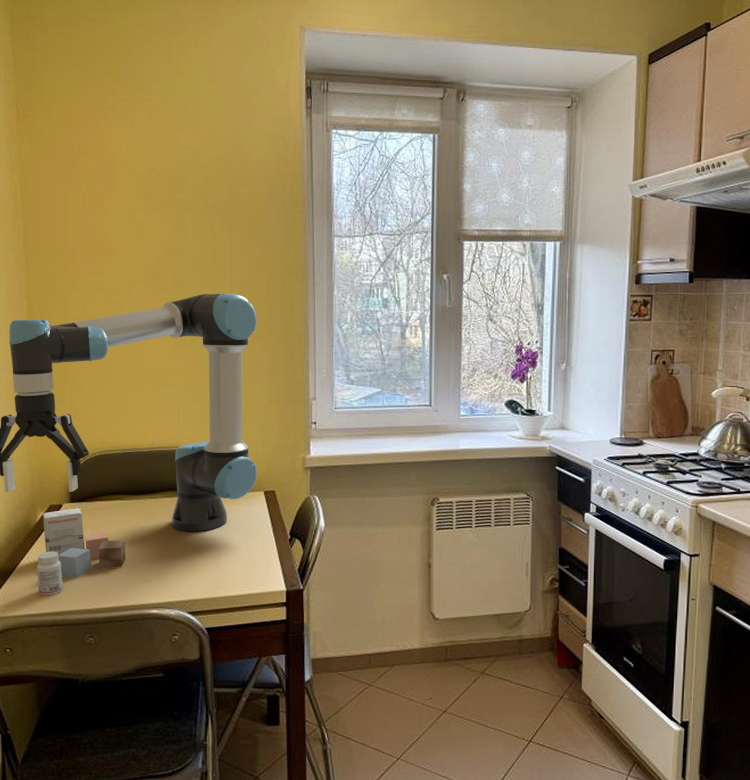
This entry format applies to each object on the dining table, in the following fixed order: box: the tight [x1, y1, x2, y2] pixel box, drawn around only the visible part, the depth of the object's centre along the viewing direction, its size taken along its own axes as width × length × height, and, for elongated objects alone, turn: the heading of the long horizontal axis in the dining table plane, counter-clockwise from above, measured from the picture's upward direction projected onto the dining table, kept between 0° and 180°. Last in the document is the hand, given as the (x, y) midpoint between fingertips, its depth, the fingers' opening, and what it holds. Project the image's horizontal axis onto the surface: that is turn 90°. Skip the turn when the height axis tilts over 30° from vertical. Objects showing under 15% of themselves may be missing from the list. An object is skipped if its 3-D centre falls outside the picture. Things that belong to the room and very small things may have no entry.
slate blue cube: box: [58, 548, 92, 579], centre depth 156 cm, size 5×5×5 cm
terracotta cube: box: [84, 530, 109, 560], centre depth 167 cm, size 5×5×5 cm
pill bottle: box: [36, 551, 64, 596], centre depth 146 cm, size 5×5×8 cm
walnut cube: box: [98, 539, 127, 570], centre depth 162 cm, size 5×5×5 cm
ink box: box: [42, 507, 86, 555], centre depth 165 cm, size 9×5×12 cm, turn 118°
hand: (41, 490), depth 144 cm, fingers open, 13 cm apart
